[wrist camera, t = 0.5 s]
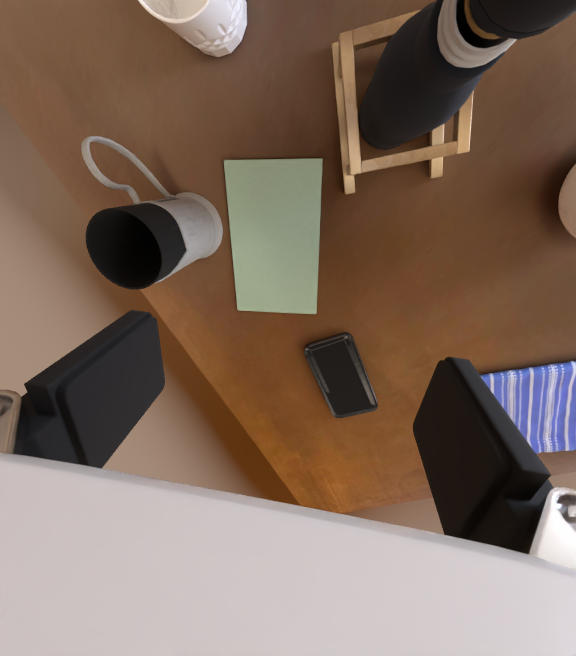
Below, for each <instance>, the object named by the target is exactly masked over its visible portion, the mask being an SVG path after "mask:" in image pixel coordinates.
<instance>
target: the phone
mask: <svg viewBox="0 0 576 656" xmlns="http://www.w3.org/2000/svg"><path fill="white" fill-rule="evenodd" d="M304 355H305V357H306V359H307V361H308V363H309V366H310V368H311V370H312V372H313V374H314V376H315V378H316V380H317V383H318V385H319V387H320V389H321V391H322V393H323V395H324V397H325V400H326V402H327V404H328V406H329V408H330V410H331V412H332V415H333V416H334V417H336V418H344V417H348V416H353V415H357V414H362V413H366V412H371V411H374V410H376V409H377V407H378V404H377V399H376V397H375V394H374V392H373V389H372V386H371V384H370V381H369V379H368V376H367V373H366V371H365V368H364V366H363V363H362V360H361V358H360V355H359V353H358V350H357V347H356V345H355V342H354V340H353V337H352V336H351V335H350V334H349V333H342V334H338V335H335V336H332V337H329V338H325V339H322V340H319V341H316V342H313V343H309V344H307V345H306V347H305V350H304Z"/></svg>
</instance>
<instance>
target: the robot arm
mask: <svg viewBox="0 0 576 656" xmlns="http://www.w3.org/2000/svg"><path fill="white" fill-rule="evenodd" d="M24 385H25V387H26V390H27V393H26V394H25V395H23V396H22V397H21V396H20V395H19V394H18V393H17V392H14V391H10V390H0V656H576V490H574V489H571V488H564V487H558V488H553V486H552V484H551V483H550V482H549V480H548V478H549V477H550V476H551V474H550V473H549V471H548V470H547V468H546V467H545V466H544V464H543V463H542V461H541V460H540V459H539V457H538V456H537V454H536V453H535V452H534V450H533V449H532V447H531V446H530V445H529V443H528V442H527V440H526V439H525V438H524V436H523V435H522V433H521V432H520V431H519V429H518V428H517V426H516V425H515V424H514V422H513V421H512V420H511V418H510V417H509V415H508V414H507V413H506V411H505V410H504V408H503V407H502V406H501V404H500V403H499V401H498V400H497V399H496V397H495V396H494V394H493V393H492V392H491V390H490V389H489V387H488V386H487V385H486V383H485V382H484V380H483V379H482V378H481V376H480V375H479V373H478V372H477V371H476V369H475V368H474V366H473V365H472V364H471V362H470V361H469V360H467V359H460V358H454V357H447V358H446V359H445V360H444V361H443V360H441V361H439V362H438V364H437V366H436V369H435V371H434V374H433V376H432V379H431V381H430V383H429V386H428V388H427V391H426V393H425V396H424V398H423V401H422V403H421V405H420V408H419V410H418V413H417V415H416V418H415V420H414V423H413V433H414V436H415V439H416V443H417V446H418V449H419V453H420V456H421V459H422V462H423V466H424V469H425V472H426V476H427V479H428V482H429V485H430V489H431V492H432V495H433V498H434V502H435V505H436V508H437V512H438V514H439V518H440V521H441V524H442V528H443V531H444V534H445V535H442V534H438V533H433V532H428V531H424V530H419V529H414V528H408V527H404V526H398V525H393V524H388V523H384V522H378V521H373V520H368V519H363V518H358V517H353V516H348V515H343V514H338V513H333V512H328V511H323V510H318V509H312V508H307V507H302V506H297V505H292V504H287V503H281V502H276V501H271V500H266V499H260V498H255V497H250V496H245V495H240V494H234V493H229V492H223V491H219V490H213V489H207V488H203V487H198V486H192V485H187V484H182V483H176V482H170V481H166V480H160V479H155V478H149V477H144V476H139V475H133V474H127V473H122V472H117V471H112V470H106V469H102V467H103V466H104V465H105V463H106V462H107V461H108V460H109V458H110V457H111V456H112V454H113V453H114V452H115V451H116V449H117V448H118V447H119V445H120V444H121V443H122V442H123V440H124V439H125V438H126V436H127V435H128V434H129V432H130V431H131V430H132V429H133V427H134V426H135V425H136V424H137V422H138V421H139V419H140V418H141V417H142V416H143V415H144V413H145V412H146V411H147V409H148V408H149V407H150V406H151V404H152V403H153V402H154V400H155V399H156V398H157V396H158V395H159V394H160V393H161V391H162V390H163V388H164V385H165V378H164V370H163V362H162V355H161V348H160V340H159V333H158V326H157V320H156V318H154V317H153V316H152V315H151V313H149V312H143V311H136V310H131V311H129V312H128V313H126V314H125V315H123V316H122V317H121V318H119V319H118V320H116V321H115V322H113V323H112V324H110V325H109V326H107V327H106V328H104V329H103V330H102V331H100V332H99V333H97V334H96V335H94V336H93V337H91V338H90V339H89V340H87V341H86V342H84V343H83V344H81V345H80V346H79V347H77V348H76V349H74V350H73V351H71V352H70V353H68V354H67V355H65V356H64V357H62V358H61V359H60V360H58V361H57V362H55V363H54V364H52V365H51V366H49V367H48V368H46V369H45V370H44V371H42V372H41V373H39V374H38V375H36V376H35V377H33V378H32V379H31V380H29V381H28V382H26V383H25V384H24Z"/></svg>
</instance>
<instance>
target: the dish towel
mask: <svg viewBox="0 0 576 656" xmlns="http://www.w3.org/2000/svg"><path fill="white" fill-rule="evenodd" d="M480 376H481V378H482V379H483V380H484V382H485V383H486V385H487V386H488V387H489V389H490V390H491V392H492V393H493V394H494V396H495V397H496V399H497V400H498V401H499V403H500V404H501V406H502V407H503V408H504V410H505V411H506V413H507V414H508V415H509V417H510V418H511V420H512V421H513V422H514V424H515V425H516V426H517V428H518V429H519V431H520V432H521V433H522V435H523V436H524V438H525V439H526V440H527V442H528V443H529V445H530V446H531V447H532V449H533V450H534V452H535V453H541V452H556V451H572V450H576V361H570V362H566V363H558V364H550V365H545V366H539V367H529V368H525V369H517V370H508V371H503V372H496V373H488V374H485V375H480Z"/></svg>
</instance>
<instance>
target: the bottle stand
mask: <svg viewBox="0 0 576 656" xmlns="http://www.w3.org/2000/svg"><path fill="white" fill-rule="evenodd" d="M421 10H422V9H421ZM419 11H420V10H418V11H414V12H411V13H407V14H404V15H401V16H397V17H394V18H391V19H387V20H384V21H380V22H377V23H374V24H370V25H367V26H364V27H360V28H357V29H354V30H350V31H347V32H343V33H340V34H339V41H338V42H335V43H332V57H333V68H334V79H335V91H336V102H337V113H338V124H339V135H340V146H341V157H342V168H343V179H344V190H345V194H351V193H355V182H354V175H355V174H360V173H365V172H370V171H375V170H380V169H385V168H390V167H395V166H400V165H405V164H410V163H415V162H420V161H425V160H429V178H436V177H441V176H442V168H443V157H444V156H449V155H454V154H459V153H464V152H468V151H469V145H470V131H471V117H472V103H473V92H472V93H471V95H470V96H469V98H468V99H467V101H466V102H465V104H464V105H463V106H462V107H461V108H460V109H459V110H458V111H457V112H456V113H455V114H454V128H453V142H449V143H444V144H443V142H444V124H443V125H441V126H439V127H437V128H436V129H434V130H432V131H430V133H429V147H425V148H420V149H415V150H410V151H406V152H401V153H396V154H391V155H386V156H382V157H377V158H372V159H367V160H362V161H361V157H360V142H359V127H358V111H357V96H356V81H355V66H354V51H356V50H359V49H363V48H366V47H370V46H373V45H377V44H380V43H384V42H388V41H389V40H390V39H391V38H392V37H393V35H394V34H395V33H396V32H397V31H398V29H399V28H400V27H401V26H402V25H403V24H404V23H405V22H406V21H407V20H408V19H409V18H411V17H412V16H413V15H415V14H416V13H417V12H419Z"/></svg>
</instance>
